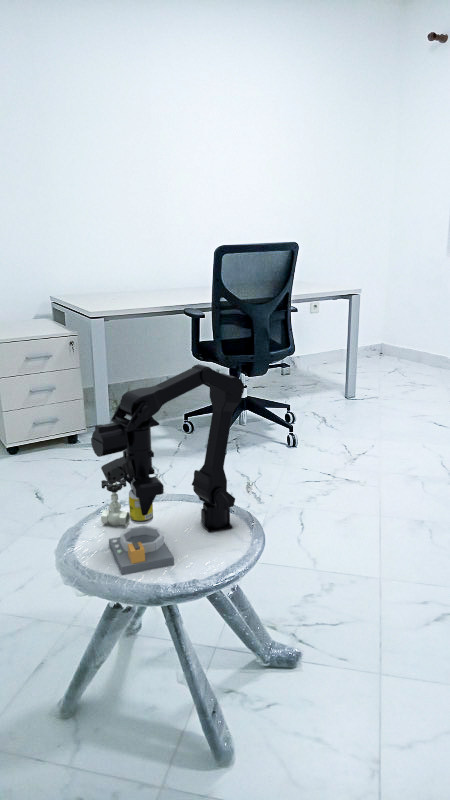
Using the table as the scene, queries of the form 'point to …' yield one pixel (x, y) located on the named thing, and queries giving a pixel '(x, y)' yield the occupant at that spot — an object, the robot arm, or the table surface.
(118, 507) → the valve
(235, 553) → the table surface
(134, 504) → the supplement bottle
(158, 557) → the octagon socket plate
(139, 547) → the orange block
